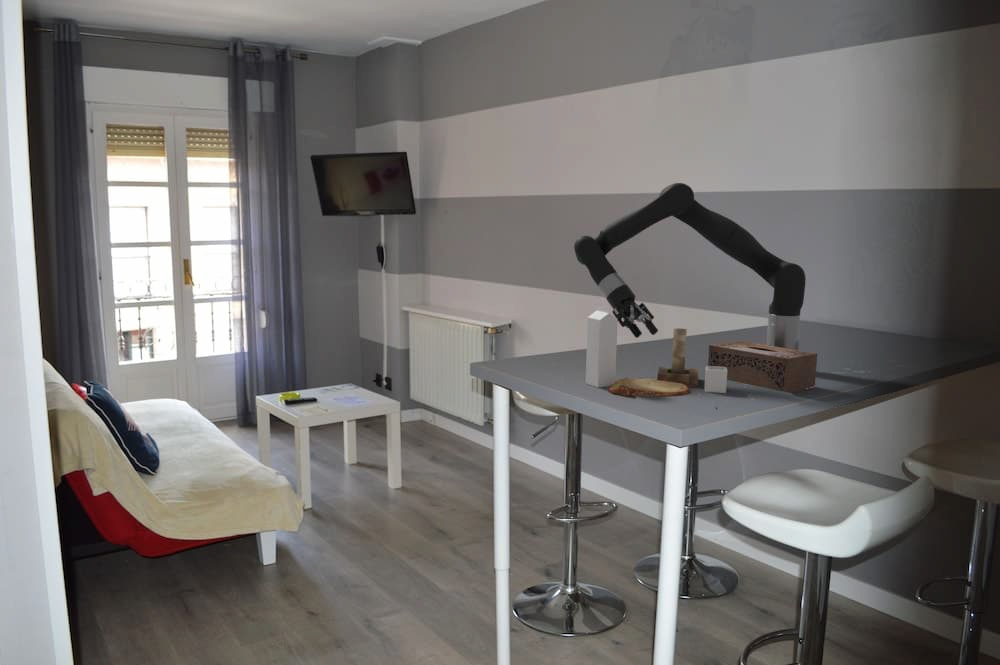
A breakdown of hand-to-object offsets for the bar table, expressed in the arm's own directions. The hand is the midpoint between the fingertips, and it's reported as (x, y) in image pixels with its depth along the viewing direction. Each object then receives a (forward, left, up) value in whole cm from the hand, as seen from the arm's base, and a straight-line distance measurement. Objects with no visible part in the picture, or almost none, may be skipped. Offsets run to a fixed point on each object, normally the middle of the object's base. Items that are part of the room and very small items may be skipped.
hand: (647, 334), depth 230 cm
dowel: (-9, +5, -12) cm, 16 cm away
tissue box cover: (-32, -4, -13) cm, 35 cm away
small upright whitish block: (-19, +13, -13) cm, 27 cm away
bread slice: (-2, +19, -13) cm, 23 cm away
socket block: (-9, +5, -13) cm, 17 cm away
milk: (+12, +13, -13) cm, 22 cm away
